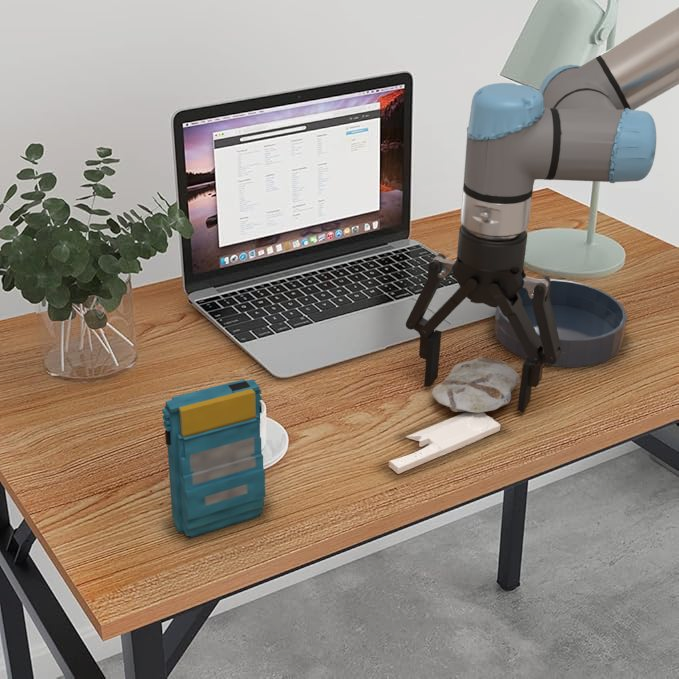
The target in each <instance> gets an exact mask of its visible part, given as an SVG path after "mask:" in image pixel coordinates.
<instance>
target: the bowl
mask: <svg viewBox="0 0 679 679" xmlns="http://www.w3.org/2000/svg"><path fill="white" fill-rule="evenodd" d="M549 279H550V281H551V284H550V291H549V298H550V302H551V307H552V311H553V315H554V319H555V323H556V327H557V331H558V336H559V340H560V344H561V348H562V353H561V355H560V356H559V358H558V360H557V361H556V363H555V364H549V363H544V365H546V366H552V367H560V368H583V367H591V366H595V365H599V364H602V363H605V362H607V361H609V360H611V359H612V358H614V357H615V356H616V355H617V354H618V353H619V352H620V350H621V348H622V345H623V343H624V338H625V332H626V327H627V322H628V320H627V319H628V317H627V310H626V309H625V307H624V306H623V304H622V302H620V301H619V300H618V299H616V298H615V297H614V296H613V295H611V294H609V293H607V292H605V291H603V290H602V289H599V288H597V287H594V286H591V285H589V284H585V283H582V282H577V281H572V280H564V279H554V278H549ZM518 294H519V295H520V297H521V300H522V305H523V307H524V309H525V311H526V313H527V315H528V317H529V319H530V321H531V323H532V325H533V327H534V329H535V330H536V332H537V334H538V336H539V338H540V340H541V337H540V333H539V329H538V325H537V321H536V317H535V313H534V309H533V299H531V298H529V295H528V291H527V290H526V289H525V288H523V287H522V289H521V290H520V291H518ZM493 324H494V325H493V330H494V331H493V332H494V336H495V337H496V340H498V342H499V343H500V344H501V345H502V346H503V347H504V348H505V349H507V350H508V351H509V352H511V353H513V354H515V355H516V356H518V357H520V358H523V359H524V360H526V359H527V357H528V356H527V354H526V353H525V351H524V349H523V347H522V345H521V343H520V341H519V339H518V337H517V335H516V334H515V332H514V330H513V328H512V326H511V324H510V322H509V320H508V318H507V317H506V316H504V315H503V313H502V311H501V310H500V308H499V306H497V308H495V317H494V323H493ZM541 342H542V341H541Z"/></svg>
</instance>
